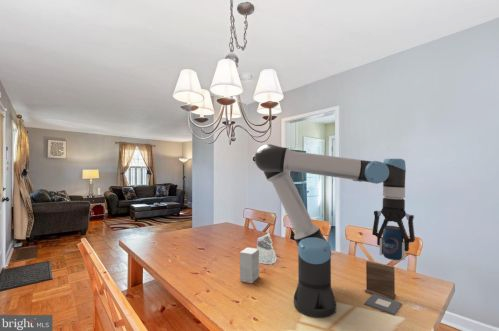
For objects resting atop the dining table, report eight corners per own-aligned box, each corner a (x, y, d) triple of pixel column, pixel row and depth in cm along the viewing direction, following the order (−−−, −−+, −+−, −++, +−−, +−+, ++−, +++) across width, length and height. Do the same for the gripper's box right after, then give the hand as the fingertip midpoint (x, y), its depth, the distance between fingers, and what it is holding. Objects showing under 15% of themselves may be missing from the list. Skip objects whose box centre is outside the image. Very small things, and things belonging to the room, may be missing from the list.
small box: (246, 274, 118) (247, 247, 118) (259, 276, 115) (259, 248, 116) (239, 281, 110) (239, 251, 111) (252, 283, 108) (252, 253, 108)
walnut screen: (392, 301, 93) (392, 269, 94) (365, 292, 100) (364, 262, 101) (395, 296, 97) (395, 265, 97) (369, 288, 104) (368, 259, 104)
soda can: (380, 257, 96) (380, 226, 96) (385, 253, 101) (385, 224, 101) (400, 262, 91) (401, 230, 91) (404, 258, 96) (405, 227, 96)
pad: (394, 315, 84) (394, 313, 84) (364, 304, 91) (364, 302, 91) (401, 304, 91) (401, 302, 91) (372, 295, 98) (372, 293, 98)
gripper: (425, 199, 93) (424, 261, 92) (369, 195, 106) (368, 248, 105) (423, 201, 87) (421, 266, 87) (364, 195, 100) (362, 252, 100)
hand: (392, 256), depth 96 cm, fingers closed on soda can, 7 cm apart
